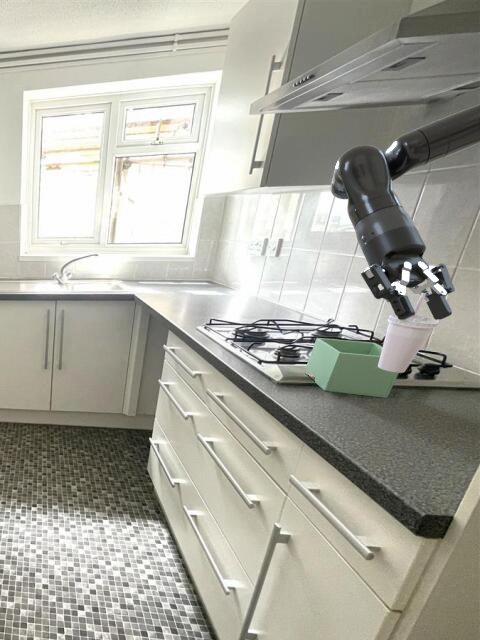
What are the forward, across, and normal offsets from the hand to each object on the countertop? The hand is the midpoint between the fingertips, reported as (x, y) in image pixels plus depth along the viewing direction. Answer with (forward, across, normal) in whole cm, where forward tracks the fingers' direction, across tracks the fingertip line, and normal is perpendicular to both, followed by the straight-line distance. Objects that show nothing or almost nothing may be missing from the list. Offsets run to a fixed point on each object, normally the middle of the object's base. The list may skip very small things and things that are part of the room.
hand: (425, 317), depth 72 cm
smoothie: (+6, 0, +9) cm, 11 cm away
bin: (0, +15, +33) cm, 36 cm away
